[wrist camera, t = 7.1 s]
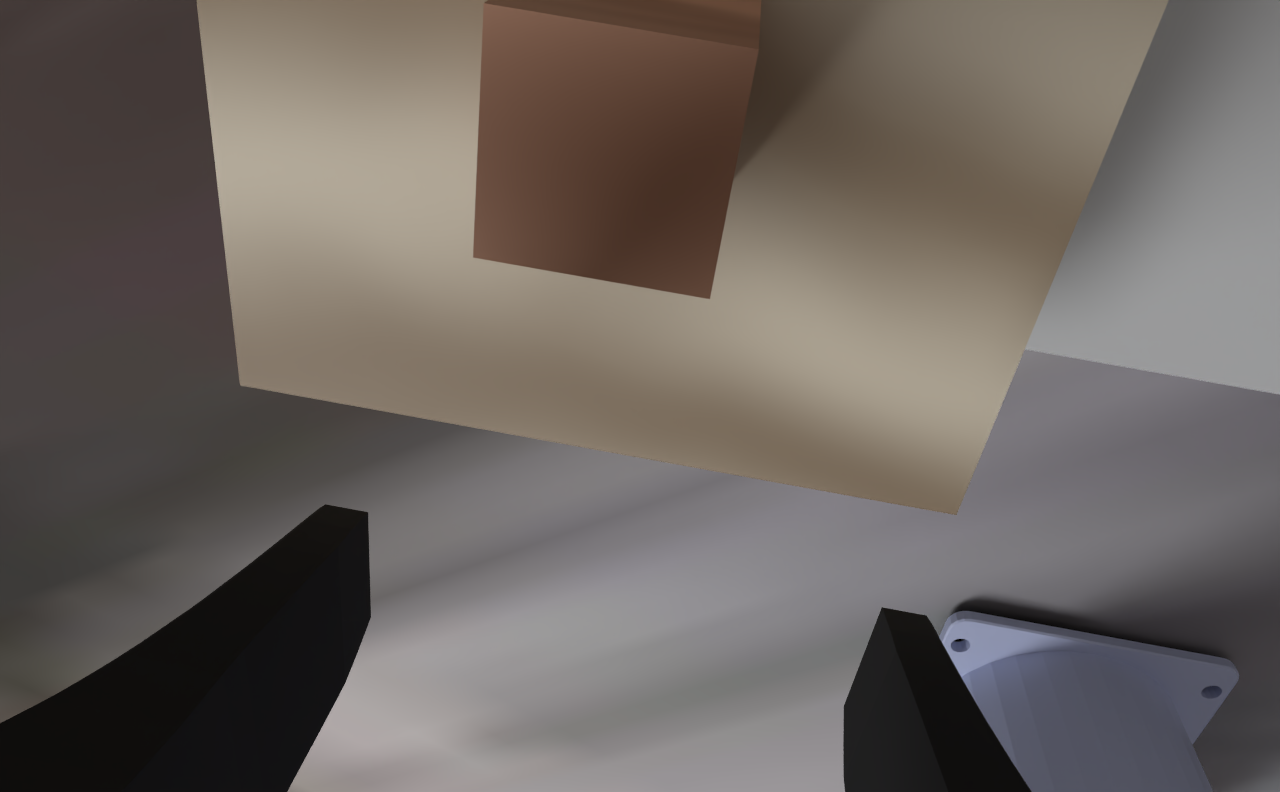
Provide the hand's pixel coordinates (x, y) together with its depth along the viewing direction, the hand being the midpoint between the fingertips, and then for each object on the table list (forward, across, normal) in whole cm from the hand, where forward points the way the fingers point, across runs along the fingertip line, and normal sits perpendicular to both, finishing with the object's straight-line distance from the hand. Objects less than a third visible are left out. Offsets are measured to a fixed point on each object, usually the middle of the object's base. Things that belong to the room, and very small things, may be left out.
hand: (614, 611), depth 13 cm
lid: (+6, +1, -6) cm, 8 cm away
